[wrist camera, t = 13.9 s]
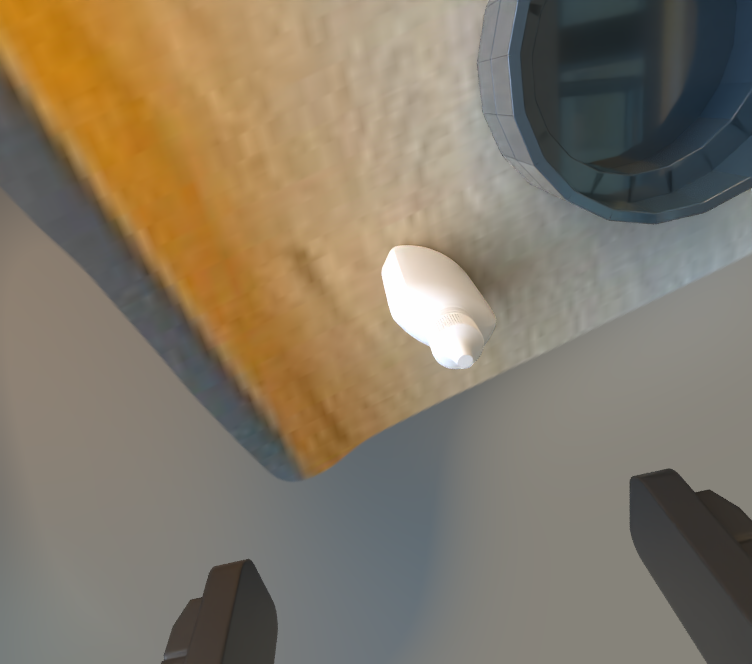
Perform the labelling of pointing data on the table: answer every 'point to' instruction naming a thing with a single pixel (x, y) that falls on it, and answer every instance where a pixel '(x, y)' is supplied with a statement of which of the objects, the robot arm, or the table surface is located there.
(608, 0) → the bowl
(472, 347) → the eye dropper bottle
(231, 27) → the table surface
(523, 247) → the table surface
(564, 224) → the table surface
